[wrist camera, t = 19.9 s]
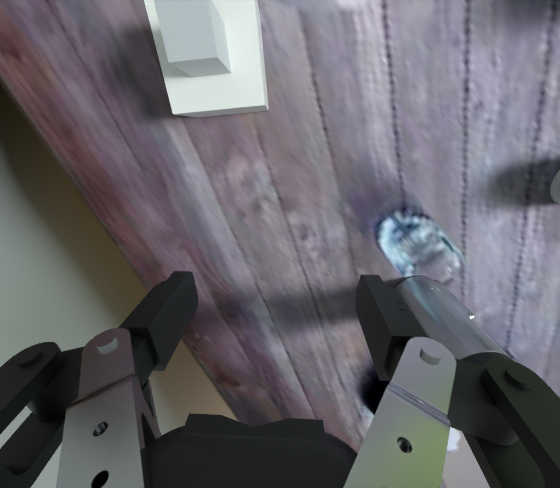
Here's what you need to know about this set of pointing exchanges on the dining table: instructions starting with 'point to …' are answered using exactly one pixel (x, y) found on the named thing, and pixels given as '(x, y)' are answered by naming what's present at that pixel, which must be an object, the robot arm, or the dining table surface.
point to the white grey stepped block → (210, 55)
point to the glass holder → (555, 188)
